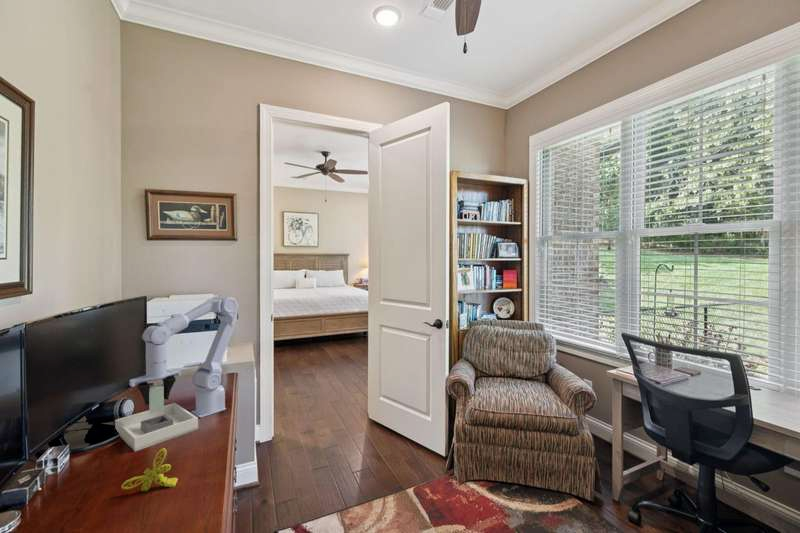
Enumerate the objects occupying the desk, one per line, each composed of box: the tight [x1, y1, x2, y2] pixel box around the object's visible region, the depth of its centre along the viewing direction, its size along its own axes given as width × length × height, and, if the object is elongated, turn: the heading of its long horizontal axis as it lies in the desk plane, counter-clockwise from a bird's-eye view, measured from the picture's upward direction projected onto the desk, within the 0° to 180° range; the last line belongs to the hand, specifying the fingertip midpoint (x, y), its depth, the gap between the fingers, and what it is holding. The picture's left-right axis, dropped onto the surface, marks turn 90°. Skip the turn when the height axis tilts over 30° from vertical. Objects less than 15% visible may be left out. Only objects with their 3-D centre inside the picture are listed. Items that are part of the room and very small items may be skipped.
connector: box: [148, 383, 165, 414], centre depth 120 cm, size 4×4×8 cm
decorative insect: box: [120, 448, 179, 492], centre depth 90 cm, size 12×3×10 cm
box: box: [114, 402, 199, 452], centre depth 120 cm, size 18×20×4 cm
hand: (156, 401), depth 120 cm, fingers closed on connector, 5 cm apart
